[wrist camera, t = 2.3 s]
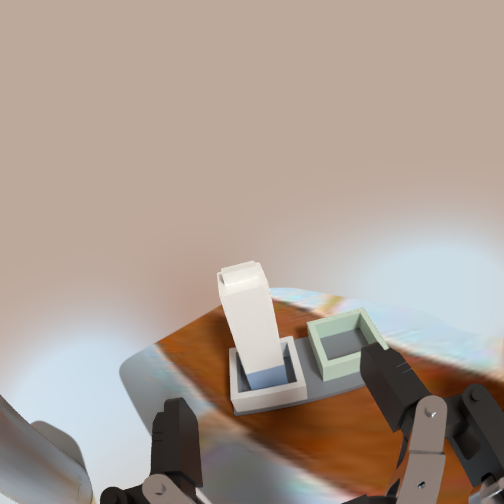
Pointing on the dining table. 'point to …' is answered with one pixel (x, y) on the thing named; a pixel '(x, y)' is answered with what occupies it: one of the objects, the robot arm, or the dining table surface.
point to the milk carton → (252, 323)
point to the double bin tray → (310, 364)
